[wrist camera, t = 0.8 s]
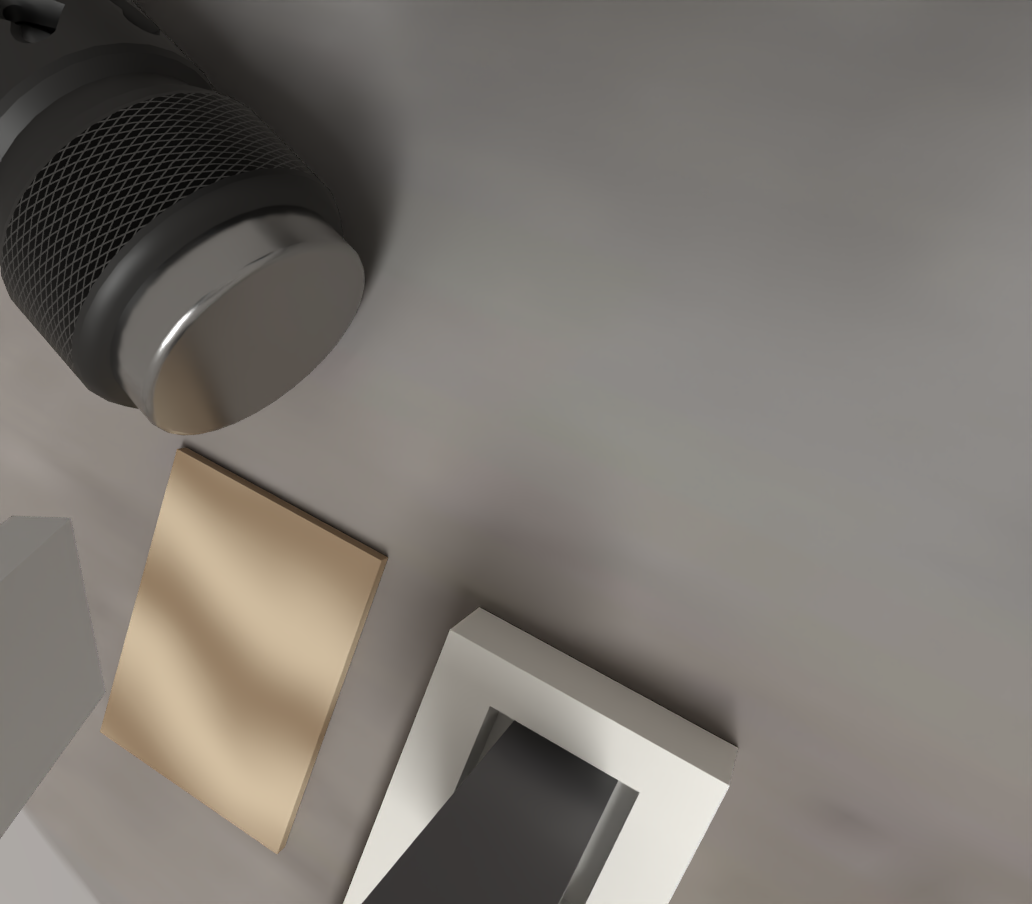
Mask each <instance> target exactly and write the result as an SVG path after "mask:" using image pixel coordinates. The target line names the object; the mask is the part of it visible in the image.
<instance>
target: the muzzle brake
mask: <svg viewBox="0 0 1032 904" xmlns="http://www.w3.org/2000/svg"><path fill="white" fill-rule="evenodd" d="M0 266H1V276H2V279H3V281H4V284H5V286H6V289H7V291H8V294H9V296H10V298H11V300H12V301H13V302H14V303H15V304H16V306H17V307H18V308H19V309H20V310H21V312H22V313H23V314H24V315H25V316H26V317H27V319H28V320H29V321H30V322H31V323H32V324H33V326H34V327H35V328H36V329H37V330H38V331H39V333H40V334H41V335H42V336H43V337H44V338H45V340H46V341H47V342H48V343H49V344H50V345H51V347H52V348H53V349H54V350H55V351H56V352H57V354H58V355H59V356H60V357H61V358H62V359H63V361H64V362H65V363H66V364H67V365H68V366H69V368H70V369H71V370H72V371H73V372H74V373H75V374H76V376H77V377H78V378H79V379H80V380H81V381H82V383H83V384H84V385H85V386H86V387H87V388H88V390H90V391H91V392H93V393H95V394H97V395H98V396H100V397H102V398H104V399H105V400H107V401H109V402H113V403H116V404H120V405H123V406H127V407H132V408H137V409H140V411H141V412H142V413H143V414H144V415H145V416H146V417H147V419H148V420H149V421H150V422H151V423H152V424H153V425H155V426H157V427H158V428H160V429H162V430H164V431H166V432H168V433H173V434H178V435H195V434H202V433H207V432H211V431H215V430H219V429H221V428H224V427H227V426H229V425H232V424H235V423H237V422H239V421H241V420H243V419H245V418H247V417H249V416H251V415H253V414H255V413H257V412H258V411H260V410H262V409H263V408H265V407H266V406H268V405H270V404H271V403H273V402H274V401H276V400H277V399H279V398H280V397H281V396H283V395H284V394H285V393H287V392H288V391H289V390H291V389H292V388H293V387H295V386H296V385H297V384H298V383H299V382H300V381H302V380H303V379H304V378H305V377H306V376H307V375H309V374H310V373H311V372H312V371H313V370H314V369H315V368H316V367H317V366H318V365H319V364H320V363H321V362H322V361H323V360H324V359H325V358H326V356H327V355H328V354H329V353H330V352H331V351H332V349H333V348H334V347H335V346H336V345H337V343H338V342H339V341H340V339H341V338H342V336H343V335H344V333H345V332H346V330H347V329H348V327H349V325H350V324H351V322H352V320H353V318H354V316H355V314H356V312H357V310H358V307H359V304H360V302H361V299H362V295H363V290H364V285H365V276H364V268H363V265H362V262H361V260H360V258H359V255H358V253H357V252H356V251H355V250H354V249H353V248H352V247H351V246H350V245H349V244H348V243H347V242H346V241H345V240H344V238H343V232H342V226H341V220H340V214H339V209H338V207H337V205H336V203H335V200H334V198H333V196H332V194H331V192H330V190H329V189H328V188H327V187H326V186H325V185H324V184H323V183H322V182H321V181H320V180H319V179H318V178H317V177H316V176H315V175H314V174H313V173H312V172H311V171H310V170H309V169H308V168H307V167H306V166H305V165H304V164H303V162H302V161H301V160H300V159H299V158H298V157H297V156H296V155H295V154H294V153H293V152H292V151H291V150H290V149H289V148H288V147H287V146H286V145H285V144H284V143H283V142H282V141H281V140H280V139H279V138H278V137H277V136H276V135H275V134H274V133H273V132H272V131H271V130H270V129H269V128H268V127H267V126H266V125H265V124H264V123H263V122H262V121H261V120H260V119H259V118H258V117H257V116H256V115H255V114H254V113H253V111H252V110H250V109H249V108H248V107H246V106H244V105H242V104H241V103H239V102H237V101H235V100H233V99H232V98H230V97H227V96H223V95H219V94H217V93H215V91H214V89H213V88H212V86H211V84H210V82H209V81H208V79H207V77H206V76H205V75H204V74H203V73H202V72H201V71H200V70H199V69H198V68H197V67H196V66H195V65H194V64H193V63H192V62H191V61H190V60H189V59H188V58H187V57H186V56H185V55H184V54H183V53H182V52H181V51H180V49H179V48H178V47H177V46H176V45H175V44H174V43H173V42H172V41H171V40H170V39H169V38H168V37H167V36H166V35H165V34H164V33H163V32H162V31H161V30H160V29H159V28H158V27H157V26H156V25H155V24H154V23H153V22H152V21H151V20H150V19H149V18H148V17H147V16H146V15H145V14H144V13H143V12H142V11H141V10H140V9H139V7H138V6H137V5H136V4H135V3H134V2H133V1H132V0H0Z"/></svg>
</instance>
